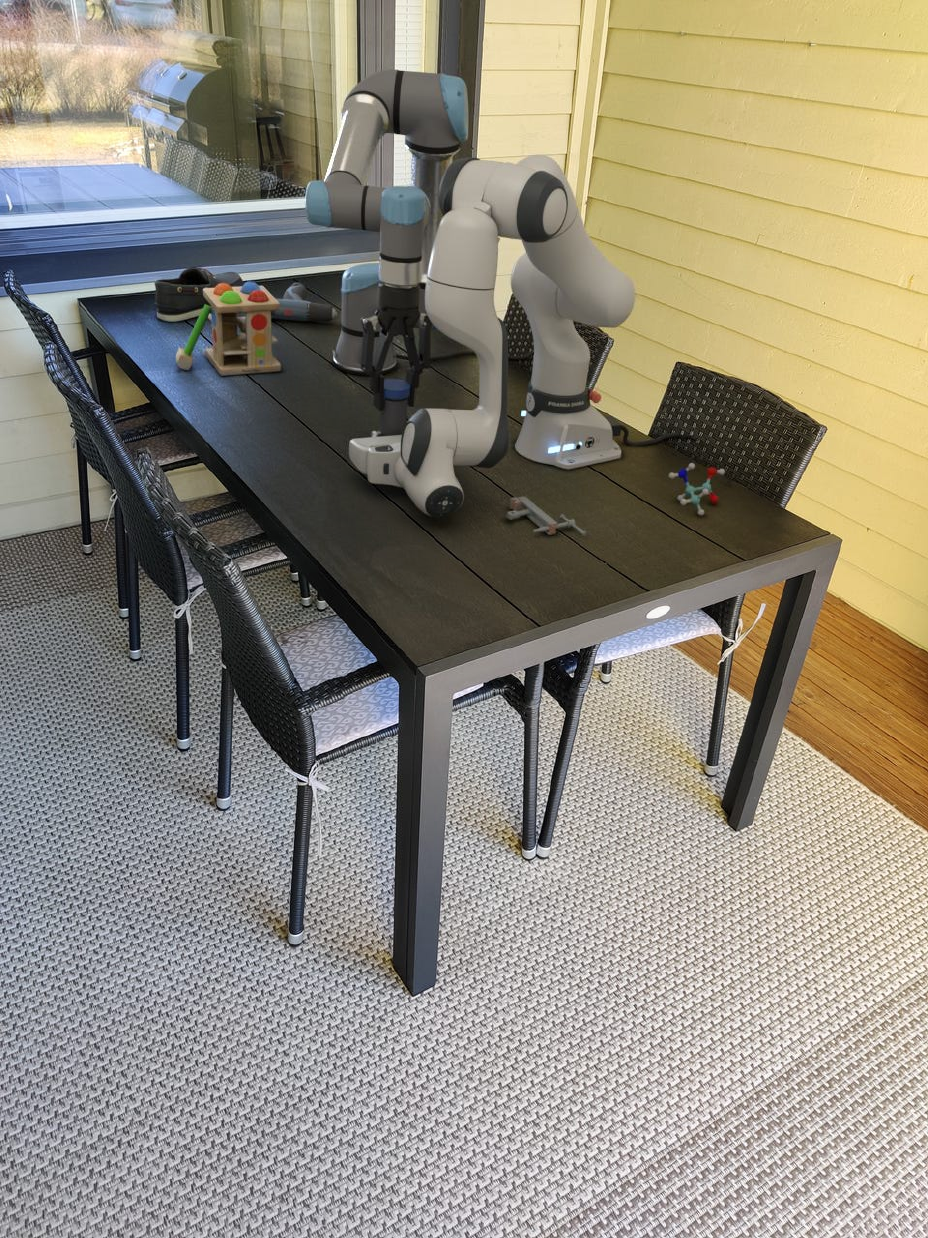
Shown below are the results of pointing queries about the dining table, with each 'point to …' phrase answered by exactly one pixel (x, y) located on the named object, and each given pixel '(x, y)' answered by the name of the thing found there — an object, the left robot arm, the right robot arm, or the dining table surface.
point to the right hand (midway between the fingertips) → (390, 432)
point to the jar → (393, 416)
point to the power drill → (301, 307)
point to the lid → (396, 389)
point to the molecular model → (691, 490)
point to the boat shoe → (188, 292)
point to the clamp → (538, 516)
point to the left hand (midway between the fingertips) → (393, 405)
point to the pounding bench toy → (229, 347)
